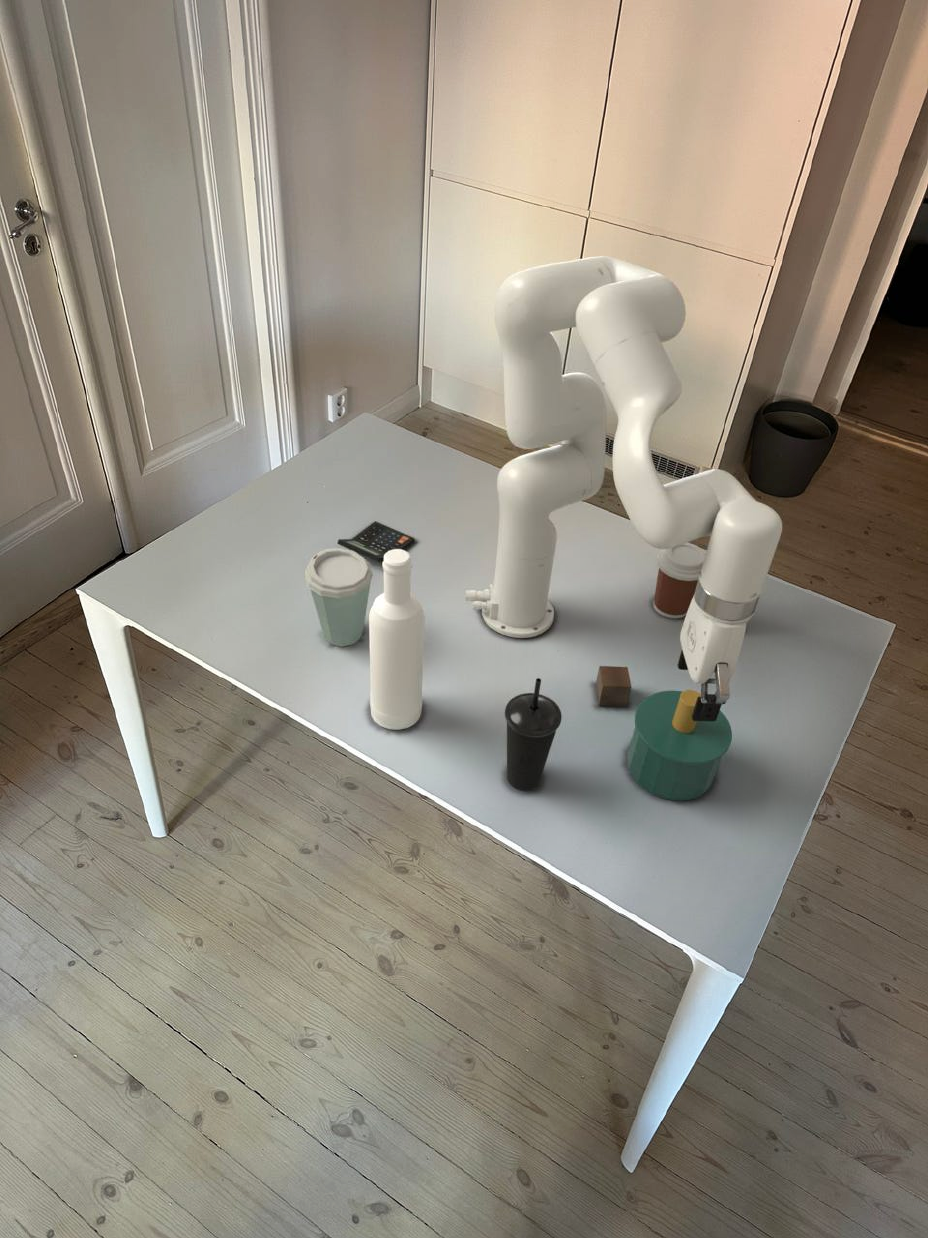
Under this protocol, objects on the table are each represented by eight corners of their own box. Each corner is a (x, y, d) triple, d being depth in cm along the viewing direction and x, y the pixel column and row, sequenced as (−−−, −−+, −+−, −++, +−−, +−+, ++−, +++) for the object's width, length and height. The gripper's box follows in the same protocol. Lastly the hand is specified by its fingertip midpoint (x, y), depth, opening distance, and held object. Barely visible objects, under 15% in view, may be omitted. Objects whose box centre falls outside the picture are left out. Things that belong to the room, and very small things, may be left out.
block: (598, 706, 138) (603, 686, 135) (595, 685, 142) (599, 665, 139) (626, 707, 138) (631, 687, 135) (622, 686, 142) (627, 666, 139)
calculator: (414, 541, 168) (414, 529, 166) (377, 571, 161) (377, 558, 159) (375, 524, 172) (375, 512, 170) (337, 553, 164) (337, 540, 162)
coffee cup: (699, 598, 160) (715, 545, 152) (692, 628, 154) (709, 574, 146) (650, 585, 162) (663, 532, 154) (641, 615, 156) (655, 561, 148)
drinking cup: (494, 757, 129) (506, 659, 116) (545, 756, 130) (562, 659, 117) (499, 799, 123) (513, 702, 110) (553, 798, 124) (572, 700, 111)
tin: (634, 799, 125) (645, 761, 119) (621, 732, 134) (631, 694, 129) (721, 802, 125) (736, 764, 120) (702, 735, 135) (716, 697, 129)
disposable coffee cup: (385, 626, 150) (384, 556, 140) (353, 665, 142) (350, 594, 132) (331, 607, 153) (327, 537, 143) (297, 644, 145) (290, 572, 135)
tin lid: (641, 766, 119) (651, 733, 115) (627, 694, 129) (635, 661, 125) (740, 769, 120) (753, 737, 115) (718, 697, 130) (729, 665, 126)
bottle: (402, 739, 131) (404, 582, 111) (359, 716, 134) (354, 560, 114) (431, 706, 136) (439, 552, 116) (390, 685, 139) (390, 531, 119)
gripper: (682, 553, 115) (657, 649, 126) (711, 641, 101) (680, 740, 112) (739, 555, 115) (709, 651, 126) (775, 643, 102) (738, 742, 113)
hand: (695, 693), depth 119 cm, fingers open, 9 cm apart
